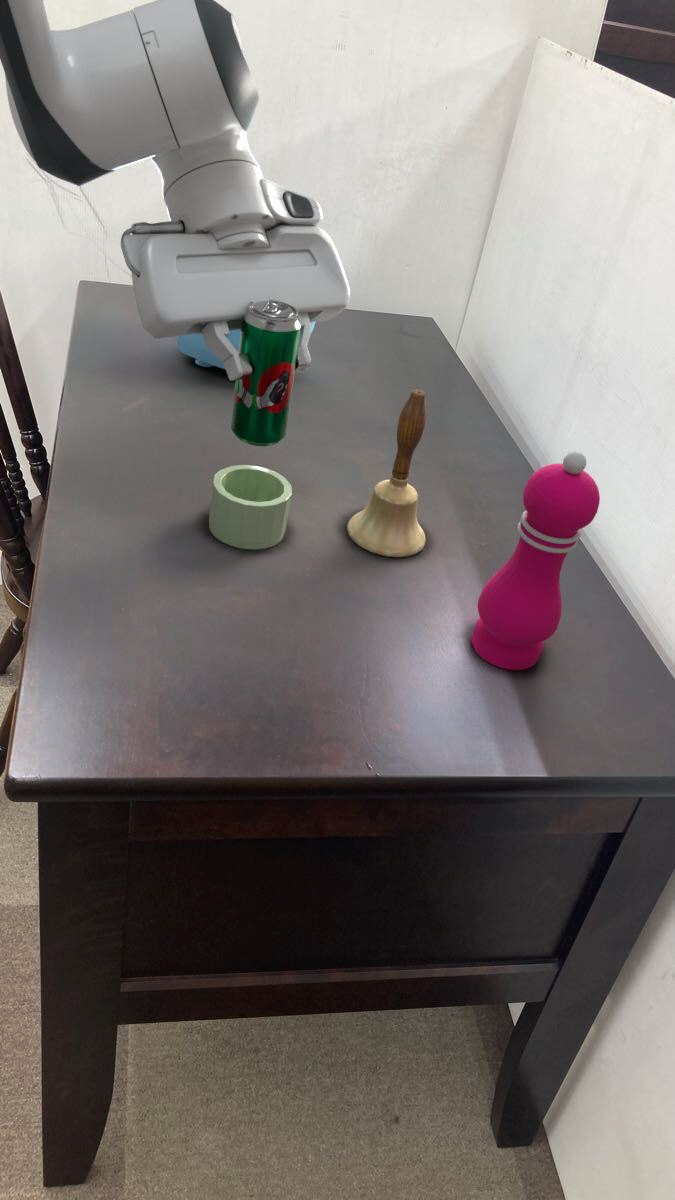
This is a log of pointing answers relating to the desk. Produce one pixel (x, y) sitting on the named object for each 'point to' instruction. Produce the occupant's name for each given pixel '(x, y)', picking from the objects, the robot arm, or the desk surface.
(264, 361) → the soda can
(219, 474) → the socket
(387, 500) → the hand bell
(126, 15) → the robot arm
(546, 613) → the pepper mill
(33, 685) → the desk surface
